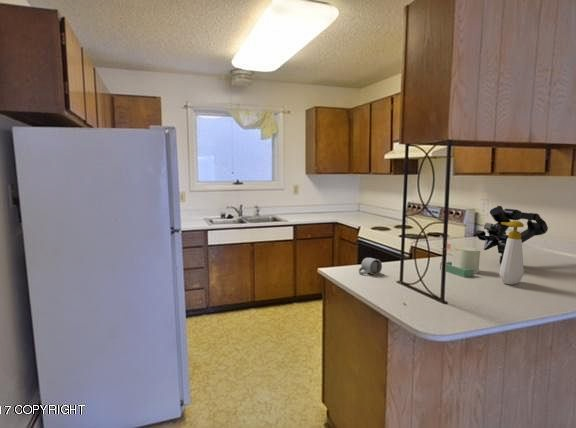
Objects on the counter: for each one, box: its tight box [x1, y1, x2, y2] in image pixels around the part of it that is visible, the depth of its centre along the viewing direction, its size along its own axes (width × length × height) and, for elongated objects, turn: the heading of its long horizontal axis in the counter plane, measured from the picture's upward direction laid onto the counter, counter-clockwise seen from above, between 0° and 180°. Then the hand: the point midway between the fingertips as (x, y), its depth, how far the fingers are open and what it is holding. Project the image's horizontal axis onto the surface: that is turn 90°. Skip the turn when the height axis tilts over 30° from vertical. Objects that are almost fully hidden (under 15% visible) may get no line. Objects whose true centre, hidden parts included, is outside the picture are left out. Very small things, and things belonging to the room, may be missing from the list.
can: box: [459, 246, 481, 274], centre depth 182 cm, size 9×9×12 cm
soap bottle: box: [499, 220, 525, 286], centre depth 162 cm, size 13×10×29 cm
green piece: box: [439, 243, 475, 278], centre depth 178 cm, size 6×15×14 cm, turn 22°
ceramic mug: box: [358, 257, 383, 276], centre depth 177 cm, size 11×8×8 cm
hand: (484, 249), depth 185 cm, fingers closed
